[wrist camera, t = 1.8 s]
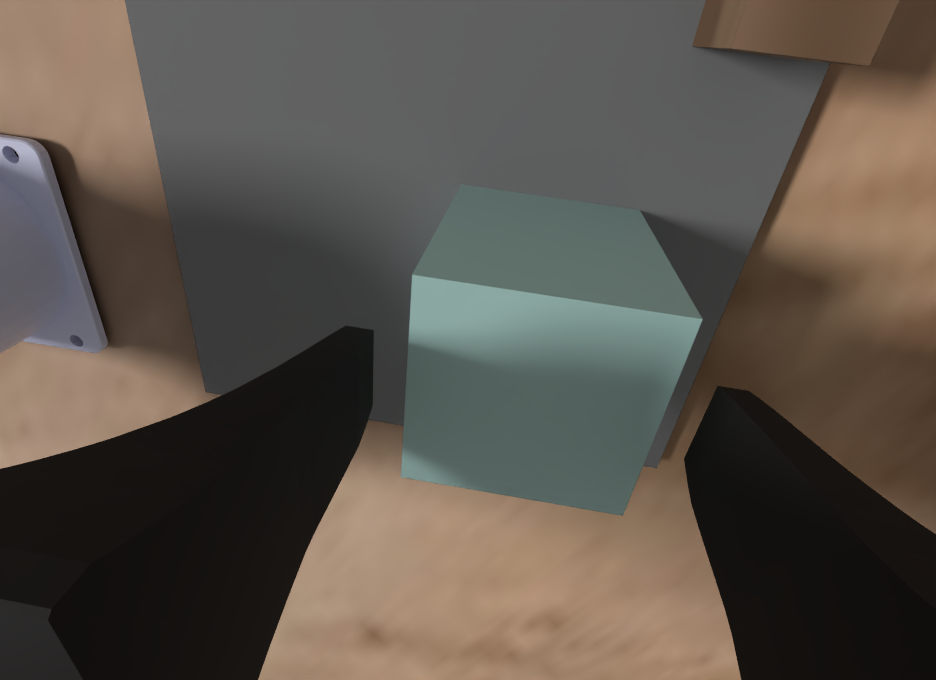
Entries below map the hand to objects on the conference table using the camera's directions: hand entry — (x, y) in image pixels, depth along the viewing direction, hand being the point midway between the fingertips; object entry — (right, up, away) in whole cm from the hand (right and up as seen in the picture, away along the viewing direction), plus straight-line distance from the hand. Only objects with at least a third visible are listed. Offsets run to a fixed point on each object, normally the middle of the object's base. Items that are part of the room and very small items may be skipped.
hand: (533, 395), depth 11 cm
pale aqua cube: (+1, +3, +5) cm, 6 cm away
